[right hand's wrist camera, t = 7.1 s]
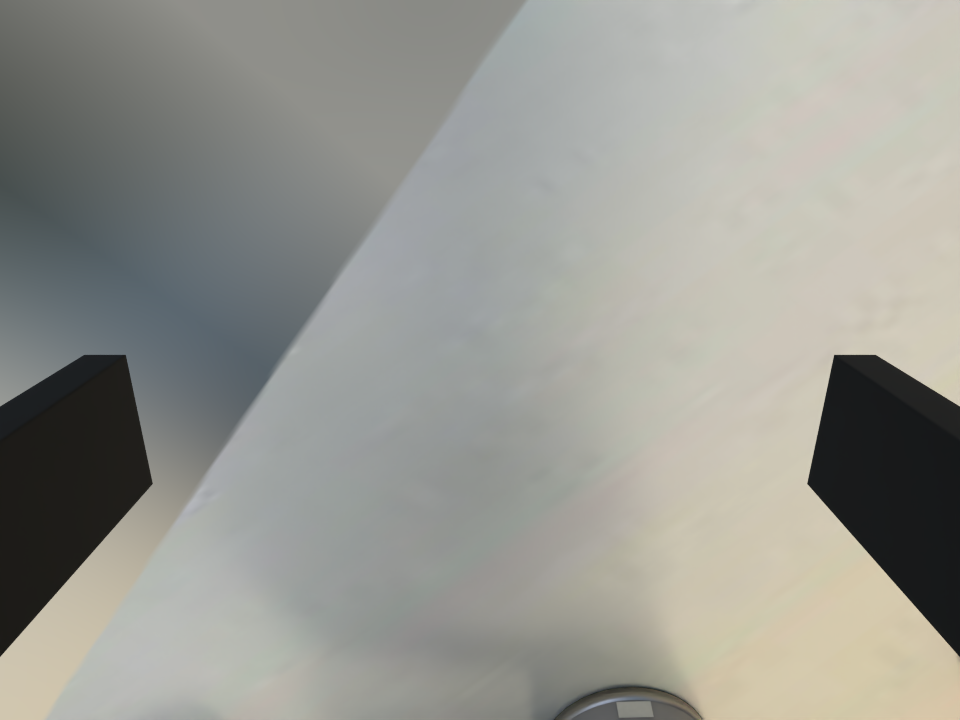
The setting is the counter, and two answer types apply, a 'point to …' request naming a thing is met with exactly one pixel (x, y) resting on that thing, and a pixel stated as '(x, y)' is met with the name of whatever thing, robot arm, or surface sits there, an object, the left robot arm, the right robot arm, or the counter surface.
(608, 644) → the counter surface
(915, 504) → the right robot arm
